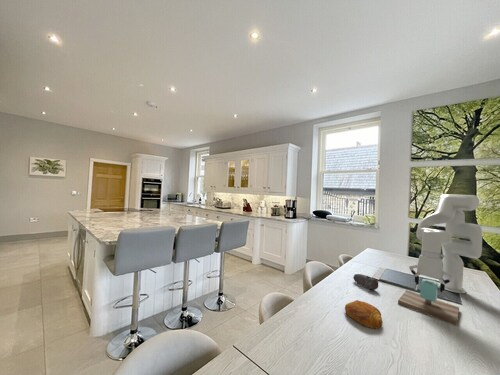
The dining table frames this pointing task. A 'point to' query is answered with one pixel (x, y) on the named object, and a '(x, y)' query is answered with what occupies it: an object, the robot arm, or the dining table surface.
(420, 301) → the stud board
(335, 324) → the dining table surface
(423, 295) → the teal block
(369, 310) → the croissant
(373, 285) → the perforated stone tool
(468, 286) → the dining table surface
